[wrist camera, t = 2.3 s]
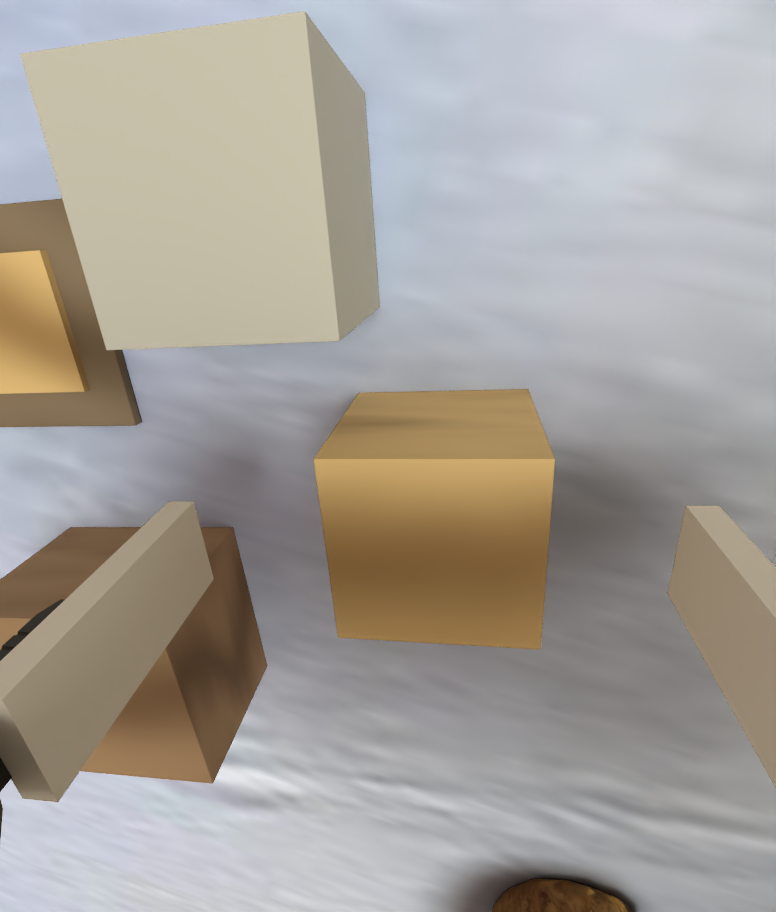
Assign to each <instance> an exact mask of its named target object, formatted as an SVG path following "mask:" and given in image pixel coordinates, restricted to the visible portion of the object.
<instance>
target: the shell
mask: <svg viewBox="0 0 776 912" xmlns="http://www.w3.org/2000/svg"><path fill="white" fill-rule="evenodd" d="M492 912H633V911H632V910H631V909H630V908H629V907H628V906H627V905H626V904H625V903H624V902H623V901H622V900H620V899H619V898H617V897H614V896H612V895H609V894H606V893H604V892H601V891H599V890H596V889H593V888H591V887H588V886H585V885H582V884H578V883H575V882H572V881H568V880H554V879H532V880H530V881H527V882H524V883H522V884H519V885H517V886H514V887H511V888H509V889H507V890H506V891H505V892H504V893H503V895H502V896H501V897H500V898H499V899H498V900H497V902H496V903H495V905H494V907H493V911H492Z"/></svg>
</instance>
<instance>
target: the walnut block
mask: <svg viewBox="0 0 776 912" xmlns="http://www.w3.org/2000/svg"><path fill="white" fill-rule="evenodd" d="M140 528H141V527H70V528H69V529H68V530H66V531H65V532H64V533H62V534H61V535H60V536H58V537H57V538H56V539H54V540H53V541H52V542H50V543H49V544H48V545H46V546H45V547H44V548H42V549H41V550H39V551H38V552H37V553H35V554H34V555H33V556H31V557H30V558H29V559H27V560H26V561H25V562H23V563H22V564H21V565H19V566H18V567H17V568H15V569H14V570H13V571H11V572H10V573H9V574H7V575H6V576H4V577H3V578H2V579H0V650H1V649H2V645H4V644H5V643H6V642H7V641H8V640H9V639H10V638H11V637H12V636H13V635H17V633H18V631H19V630H20V629H21V628H22V627H23V626H24V625H25V624H26V623H28V622H29V621H30V620H31V619H32V618H33V617H34V616H35V615H36V614H38V613H39V612H41V611H43V610H44V609H46V608H47V607H49V606H51V605H52V604H54V603H56V602H57V601H59V600H61V599H66V598H67V597H69V596H70V595H71V594H72V593H73V592H74V591H75V590H76V589H77V588H78V587H79V586H80V585H81V584H82V583H83V582H84V581H85V580H86V579H88V578H89V577H90V576H91V575H92V574H93V573H94V572H95V571H96V570H97V569H98V568H99V567H100V566H101V565H102V564H103V563H104V562H105V561H107V560H108V559H109V558H110V557H111V556H112V555H113V554H114V553H115V552H116V551H117V550H118V549H119V548H120V547H121V546H122V545H123V544H124V543H125V542H127V541H128V540H129V539H130V538H131V537H132V536H133V535H134V534H135V533H136V532H137V531H138V530H139V529H140ZM200 528H201V532H202V536H203V540H204V543H205V547H206V551H207V555H208V559H209V562H210V566H211V570H212V574H213V578H214V579H213V581H212V582H211V584H210V585H209V587H208V588H207V589H206V591H205V592H204V594H203V595H202V597H201V598H200V600H199V601H198V602H197V604H196V605H195V607H194V608H193V610H192V611H191V612H190V614H189V615H188V617H187V618H186V620H185V621H184V622H183V624H182V625H181V627H180V628H179V630H178V631H177V632H176V634H175V635H174V637H173V638H172V640H171V641H170V643H169V644H168V645H167V647H166V648H165V650H164V651H163V653H162V654H161V655H160V657H159V658H158V660H157V661H156V663H155V664H154V665H153V667H152V668H151V670H150V671H149V673H148V674H147V675H146V677H145V678H144V680H143V681H142V683H141V684H140V686H139V687H138V688H137V690H136V691H135V693H134V694H133V696H132V697H131V698H130V700H129V701H128V703H127V704H126V706H125V707H124V708H123V710H122V711H121V713H120V714H119V716H118V717H117V718H116V720H115V721H114V723H113V724H112V726H111V727H110V729H109V730H108V731H107V733H106V734H105V736H104V737H103V739H102V740H101V741H100V743H99V744H98V746H97V747H96V749H95V750H94V751H93V753H92V754H91V756H90V757H89V759H88V760H87V761H86V763H85V764H84V766H83V767H82V769H81V770H80V771H85V772H95V773H106V774H117V775H128V776H138V777H149V778H160V779H171V780H181V781H192V782H203V783H213V782H214V780H215V778H216V776H217V773H218V771H219V769H220V767H221V765H222V763H223V760H224V758H225V756H226V754H227V752H228V750H229V748H230V745H231V743H232V741H233V739H234V737H235V735H236V732H237V730H238V728H239V726H240V724H241V722H242V719H243V717H244V715H245V713H246V711H247V709H248V706H249V704H250V702H251V700H252V698H253V696H254V693H255V691H256V689H257V687H258V685H259V683H260V680H261V678H262V676H263V674H264V672H265V670H266V667H267V663H266V659H265V655H264V650H263V646H262V642H261V638H260V634H259V630H258V626H257V622H256V618H255V614H254V610H253V606H252V602H251V598H250V594H249V590H248V586H247V582H246V578H245V574H244V570H243V566H242V562H241V558H240V554H239V550H238V546H237V542H236V538H235V534H234V530H233V527H200Z"/></svg>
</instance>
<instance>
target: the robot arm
mask: <svg viewBox="0 0 776 912" xmlns="http://www.w3.org/2000/svg"><path fill="white" fill-rule="evenodd" d="M213 579H214V578H213V574H212V570H211V566H210V562H209V559H208V555H207V551H206V547H205V543H204V540H203V536H202V532H201V528H200V524H199V521H198V517H197V513H196V509H195V505H194V502H184V501H169V502H168V503H167V504H166V505H165V506H163V507H162V508H161V509H160V510H159V511H158V512H157V513H156V514H155V515H154V516H153V517H152V518H151V519H150V520H149V521H148V522H147V523H146V524H144V525H143V526H142V527H141V528H140V529H139V530H138V531H137V532H136V533H135V534H134V535H133V536H132V537H131V538H130V539H129V540H128V541H127V542H125V543H124V544H123V545H122V546H121V547H120V548H119V549H118V550H117V551H116V552H115V553H114V554H113V555H112V556H111V557H110V558H109V559H108V560H107V561H105V562H104V563H103V564H102V565H101V566H100V567H99V568H98V569H97V570H96V571H95V572H94V573H93V574H92V575H91V576H90V577H89V578H88V579H86V580H85V581H84V582H83V583H82V584H81V585H80V586H79V587H78V588H77V589H76V590H75V591H74V592H73V593H72V594H71V595H70V596H69V597H67V598H66V599H61V600H59V601H57V602H56V603H54V604H52V605H51V606H49V607H47V608H46V609H44V610H43V611H41V612H39V613H38V614H36V615H35V616H34V617H33V618H32V619H31V620H30V621H29V622H28V623H26V624H25V625H24V626H23V627H22V628H21V629H20V630H19V631H18V633H17V635H13V636H12V637H11V638H10V639H9V640H8V641H7V642H6V643H5V644H4V645H2V649H1V650H0V791H1V790H2V789H3V788H4V786H5V785H6V784H7V783H8V781H9V780H10V779H12V781H13V783H14V784H15V786H16V788H17V789H18V791H19V793H20V794H21V796H22V798H25V799H34V800H43V801H53V802H59V800H60V799H61V797H62V796H63V794H64V793H65V792H66V790H67V789H68V787H69V786H70V784H71V783H72V782H73V780H74V779H75V777H76V776H77V774H78V773H79V772H80V770H81V769H82V767H83V766H84V764H85V763H86V761H87V760H88V759H89V757H90V756H91V754H92V753H93V751H94V750H95V749H96V747H97V746H98V744H99V743H100V741H101V740H102V739H103V737H104V736H105V734H106V733H107V731H108V730H109V729H110V727H111V726H112V724H113V723H114V721H115V720H116V718H117V717H118V716H119V714H120V713H121V711H122V710H123V708H124V707H125V706H126V704H127V703H128V701H129V700H130V698H131V697H132V696H133V694H134V693H135V691H136V690H137V688H138V687H139V686H140V684H141V683H142V681H143V680H144V678H145V677H146V675H147V674H148V673H149V671H150V670H151V668H152V667H153V665H154V664H155V663H156V661H157V660H158V658H159V657H160V655H161V654H162V653H163V651H164V650H165V648H166V647H167V645H168V644H169V643H170V641H171V640H172V638H173V637H174V635H175V634H176V632H177V631H178V630H179V628H180V627H181V625H182V624H183V622H184V621H185V620H186V618H187V617H188V615H189V614H190V612H191V611H192V610H193V608H194V607H195V605H196V604H197V602H198V601H199V600H200V598H201V597H202V595H203V594H204V592H205V591H206V589H207V588H208V587H209V585H210V584H211V582H212V581H213ZM668 595H669V597H670V599H671V601H672V603H673V604H674V606H675V608H676V610H677V612H678V613H679V615H680V617H681V619H682V620H683V622H684V624H685V626H686V628H687V629H688V631H689V633H690V635H691V637H692V638H693V640H694V642H695V644H696V646H697V647H698V649H699V651H700V653H701V655H702V656H703V658H704V660H705V662H706V663H707V665H708V667H709V669H710V671H711V672H712V674H713V676H714V678H715V680H716V681H717V683H718V685H719V687H720V689H721V690H722V692H723V694H724V696H725V698H726V699H727V701H728V703H729V705H730V706H731V708H732V710H733V712H734V714H735V715H736V717H737V719H738V721H739V723H740V724H741V726H742V728H743V730H744V732H745V733H746V735H747V737H748V739H749V741H750V742H751V744H752V746H753V748H754V749H755V751H756V753H757V755H758V757H759V758H760V760H761V762H762V764H763V766H764V767H765V769H766V771H767V773H768V775H769V776H770V778H771V780H772V782H773V784H774V785H775V787H776V567H775V566H774V565H773V564H772V563H771V562H770V561H769V559H768V558H767V557H766V556H765V555H764V554H763V553H762V552H761V551H760V550H759V549H758V547H757V546H756V545H755V544H754V543H753V542H752V541H751V540H750V539H749V538H748V536H747V535H746V534H745V533H744V532H743V531H742V530H741V529H740V528H739V527H738V526H737V524H736V523H735V522H734V521H733V520H732V519H731V518H730V517H729V516H728V515H727V514H726V512H725V511H724V510H723V509H722V508H721V507H720V506H686V507H685V512H684V517H683V522H682V527H681V532H680V536H679V541H678V546H677V551H676V556H675V561H674V565H673V570H672V575H671V580H670V585H669V590H668ZM2 811H3V808H2V804H1V800H0V837H1V824H2Z"/></svg>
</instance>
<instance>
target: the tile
mask: <svg viewBox="0 0 776 912" xmlns="http://www.w3.org/2000/svg"><path fill="white" fill-rule="evenodd" d="M139 423H141V418H140V415H139V411H138V407H137V404H136V400H135V397H134V393H133V389H132V386H131V382H130V379H129V375H128V372H127V368H126V364H125V361H124V357H123V354H122V350H106V347H105V343H104V340H103V337H102V333H101V330H100V326H99V323H98V319H97V316H96V313H95V309H94V306H93V302H92V299H91V295H90V292H89V289H88V285H87V282H86V278H85V275H84V271H83V268H82V265H81V261H80V258H79V254H78V251H77V248H76V244H75V241H74V237H73V234H72V230H71V227H70V224H69V220H68V217H67V213H66V210H65V206H64V203H63V200H62V199H54V200H44V201H33V202H22V203H12V204H1V205H0V427H47V426H130V425H137V424H139Z"/></svg>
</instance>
